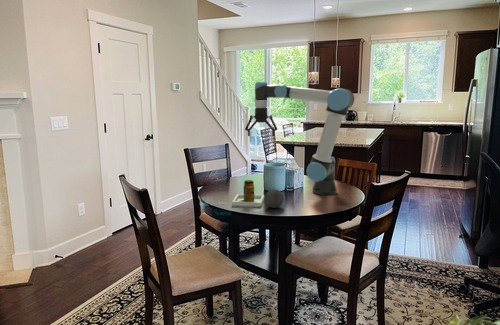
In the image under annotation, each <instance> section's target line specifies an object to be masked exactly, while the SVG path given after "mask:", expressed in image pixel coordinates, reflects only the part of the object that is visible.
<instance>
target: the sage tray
mask: <svg viewBox="0 0 500 325" xmlns="http://www.w3.org/2000/svg"><path fill="white" fill-rule="evenodd" d="M241 200H244V193H242V194H241V193H238V194H236V195H235V197H234V198H233V200H232V201H231V205H232V207H246V208H248V207H249V208H262V205H263V203H264V201H265V195H264V194H254V201H257V202H240V201H241Z"/></svg>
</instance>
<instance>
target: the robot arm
mask: <svg viewBox="0 0 500 325" xmlns="http://www.w3.org/2000/svg"><path fill="white" fill-rule="evenodd" d="M254 84H255V85H254V99H255V100H254V107H255V109H254V115H250V116H249V120H248V122H247V124H246V126H245V128H244V130H245V131H246V132H247V136H248V137H249V142H252V129H253V127H254V126H255V125H256V124H257V123H259V124H260V123H265V124H266V125H267V126H268V128H269V129H271V131H270V132H271V133H270V134H271V135H270V142H271V143H273V141H274V137H275V135H276V134H275V132H276V131H277V130H278V127H277V125H276V123H275V121H274V119H273V115H271V114H270V115H268V98H273V99H274V98H277V99H280V98H282V99H292V100H298V101H299V100H300V101H306V102H313V103H319V104H320V103H321V104H327V105H326V108H325V111H326V113H327V114H326V118H325V122H324V126H323V129H322V132H321V136H320V138H319V141H318V145H317V150H316V152H315V153H314V154H313V155H312V157H311V160H310V163H308V165H307V167H306V175H307V177H308V178H309V179H310V180H311V181H313V183H314V184H313V185H312V190H311V191H312V192H311V193H313V194H316V195H319V196H334V195H336V194H337V193H338V189H337V186H336V182H335V174H336V173H335V172H336V171H335V170H336V159H335V156H332V153H333V150H334V147H335V145H336V140H337V138H338V135H339V131H340V128H341V124H342V122H343V119H344V118H345V117H346V116H347V114H348V111H349V109H350V108H351V107H352V106H353V105H354V102H355V95H354V93H353V92H352V91H351V90H350V89H346V88H336V89H332V90H328V89H327V90H325V89H318V88H316V89H315V88H308V87H299V86H292V85H291V86H290V85H285V84H268V82H267V81H257V82H255V83H254ZM253 119H255V121H253V123H252V120H253ZM267 119H269V120H270V121H271V123H272V124H270V122H269V121H268V120H267ZM251 123H252V124H251ZM250 125H251V126H250ZM272 125H273V126H272Z"/></svg>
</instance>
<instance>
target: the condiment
mask: <svg viewBox="0 0 500 325" xmlns="http://www.w3.org/2000/svg"><path fill="white" fill-rule="evenodd" d="M243 184H244V185H243V194H244V200H241V201H240V202H257V201H254V195H255V185H254V181H253V180H251V179H249V180H247V179H246V180H244V182H243Z"/></svg>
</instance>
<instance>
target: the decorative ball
mask: <svg viewBox="0 0 500 325" xmlns="http://www.w3.org/2000/svg"><path fill="white" fill-rule="evenodd" d="M264 201H265V203H266V205H267V206H268V207H270V208H272V209H278V208H279V207H281V206H282V205H283V203H284V201H285V196H284V194H283V192H281V190H279V189H276V188H275V189H270V190H268V191H267V193H266V195H265V196H264Z"/></svg>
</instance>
